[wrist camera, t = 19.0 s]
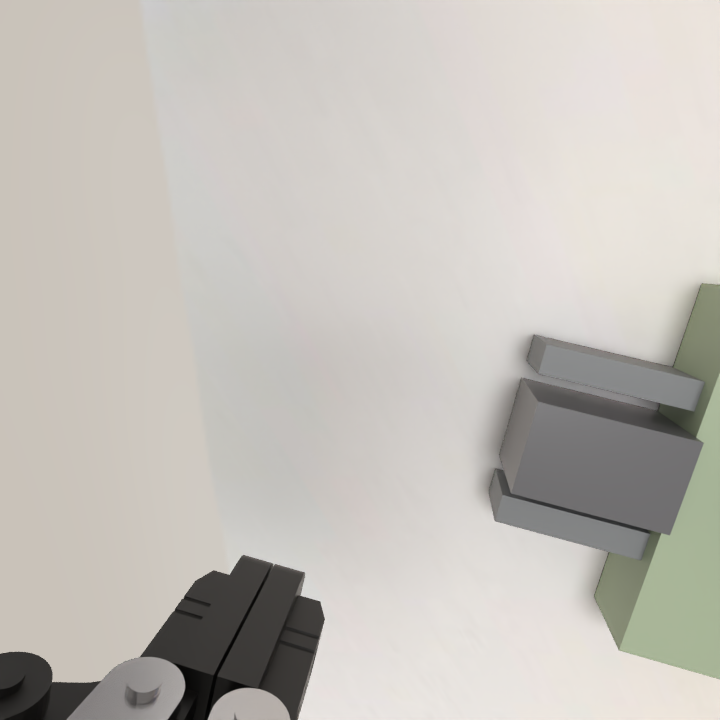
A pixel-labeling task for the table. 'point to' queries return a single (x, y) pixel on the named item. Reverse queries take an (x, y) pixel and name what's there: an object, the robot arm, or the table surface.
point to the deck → (634, 544)
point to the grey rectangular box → (598, 456)
